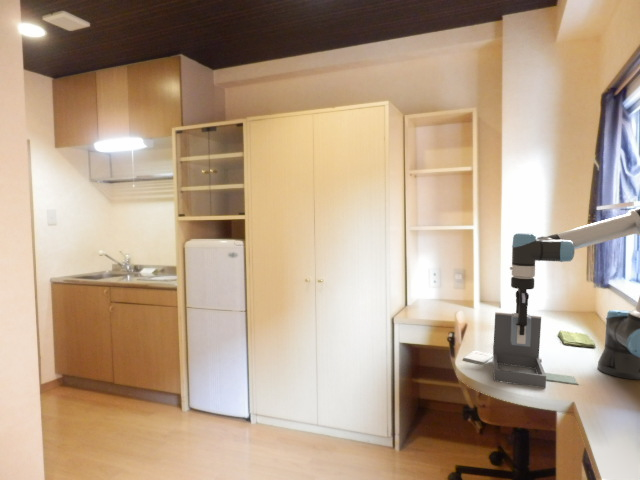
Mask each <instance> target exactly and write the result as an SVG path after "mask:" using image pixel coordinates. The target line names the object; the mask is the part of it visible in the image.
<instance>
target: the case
mask: <svg viewBox="0 0 640 480" xmlns="http://www.w3.org/2000/svg"><path fill="white" fill-rule="evenodd" d="M512 313H513V312H512ZM512 313H511V312H500V311H499V312H498V311H495V312H494V328H493V331H494V332H493V348H492V354H493V358H492V368H493V369H492V370H493V371H494V372H493V380H494V382H495V381H496V382H500V381H502V383H507V382H508V384H509V383H510V384H514V383H516V384H515V385H523V386H528V387H536V388H542V389H543V388H544V389H546V386H547V380H546V374H545V373H546V371H545V370H544V367H543V365H542V362H543V361H542V360H543V359H542V357H541V356H540V343H541V342H540V341H541V329H542V327H541V326H542V316H540V315H534V314H533V315H531V314H529V315H530V317H531V339H530V347H528V346H518V345H512V344H511V315H512ZM498 365H504V366H505V365H506V366H512V367H520V368H527V369H528V368H529V369H535V372H536V373H532V372H531V373H530V372H523V371H516V370H509V369H501V368H499V366H498Z"/></svg>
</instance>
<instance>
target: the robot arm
mask: <svg viewBox="0 0 640 480" xmlns="http://www.w3.org/2000/svg"><path fill="white" fill-rule="evenodd" d="M630 235H637V236H640V207H636V208H633V209H630V210H629V211H628V212H627V213H626V214H622V215H619V216H616V217H612V218H607V219H604V220H601V221H597V222H593V223H590V224H587V225H583V226H579V227H575V228H572V229H568V230H565V231H562V232H559V233H555V234H551V235H548V236H540V237H537V235H536V234H534V233H523V232H522V233H516V234H513V237H512V238H513V239H512V245H511V248H512V253H511V254H512V255H511V266H510V267H509V270H511V276H512V277H511V278H510V287H511V288H513V289H517V290H516V292H515V304H516V307H515V308H516V309H515V313H518V324H517V323H516V325H518V326H517V343H519V344H525V342H526V326H527V314H528V306H529V296H530V295H529V293H528V292H527V290H533V289H535V276H536V262H537V261H538V262H540V261H542V262H559V263H560V262H561V263H562V262H571V261H572V260H573V259H574V258H575V252H576V251H575V250H579V249H583V248H587V247H590V246H594V245H598V244H601V243H606V242H609V241H613V240H617V239H620V238H623V237H628V236H630ZM606 315H607V316H606V318H605V319H606V322H605V323H606V324H605V338H604V349H603V351H602V353H601V355H600V357H599V360H598V362H597V370H599V371H601V372H602V373H604V374H607V375H610V376H612V377H617V378H622V379H629V380H640V296H639V297H638V301H637V304H636V308H634V309H633V310H621V309H610V310H608V311H607V314H606ZM521 321H522V322H521Z"/></svg>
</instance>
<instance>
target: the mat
mask: <svg viewBox="0 0 640 480" xmlns="http://www.w3.org/2000/svg"><path fill="white" fill-rule="evenodd" d="M545 374H546V382H547V381H549V382H555V383H563V384H571V385H577V386H578V385H579V383H578V381H577V379H576V377H575V376H573V375H566V374H558V373H550V372H545Z"/></svg>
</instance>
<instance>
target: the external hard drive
mask: <svg viewBox="0 0 640 480" xmlns="http://www.w3.org/2000/svg"><path fill="white" fill-rule="evenodd" d="M489 360H490V361H491V360H493V353H488V352H485V351H480V350H473V351H471V352H470V353H468V354H466V355H465V356H464V357H463V358H462V361H466V362H470V363H474V364H479V365H482V364H483V365H482V366H485V365H486V364H487V363H488V362H490V361H489ZM484 364H485V365H484Z"/></svg>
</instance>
